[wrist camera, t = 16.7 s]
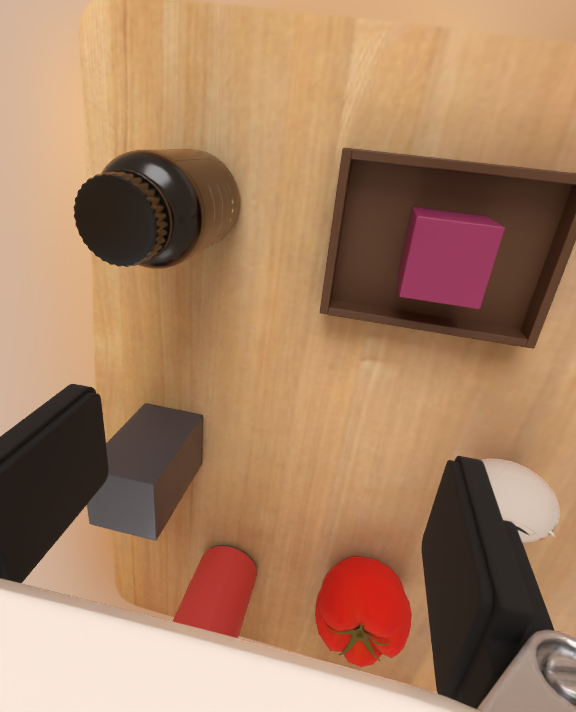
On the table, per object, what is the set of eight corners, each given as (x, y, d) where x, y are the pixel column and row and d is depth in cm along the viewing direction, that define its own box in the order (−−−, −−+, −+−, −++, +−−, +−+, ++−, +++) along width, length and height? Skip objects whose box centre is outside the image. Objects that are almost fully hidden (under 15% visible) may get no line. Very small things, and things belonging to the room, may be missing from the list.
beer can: (248, 540, 48) (209, 652, 37) (265, 583, 50) (232, 700, 39) (195, 543, 50) (143, 649, 39) (214, 584, 52) (169, 695, 41)
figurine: (435, 474, 39) (444, 531, 33) (471, 424, 37) (488, 477, 31) (517, 510, 39) (541, 574, 33) (559, 463, 36) (594, 524, 30)
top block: (397, 277, 32) (398, 297, 28) (412, 206, 30) (416, 215, 26) (466, 287, 31) (480, 309, 27) (487, 216, 29) (505, 227, 25)
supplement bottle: (157, 235, 35) (57, 271, 25) (158, 142, 32) (46, 137, 22) (238, 252, 34) (172, 296, 24) (247, 158, 31) (177, 161, 21)
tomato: (393, 540, 44) (395, 610, 37) (417, 601, 46) (422, 676, 40) (307, 550, 47) (294, 616, 40) (334, 607, 49) (326, 678, 43)
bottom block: (147, 451, 45) (89, 524, 36) (145, 402, 43) (81, 468, 34) (202, 463, 44) (156, 541, 36) (203, 414, 42) (153, 485, 33)
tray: (323, 302, 35) (319, 313, 32) (346, 148, 30) (342, 147, 28) (523, 335, 33) (534, 349, 30) (582, 174, 28) (601, 176, 25)
